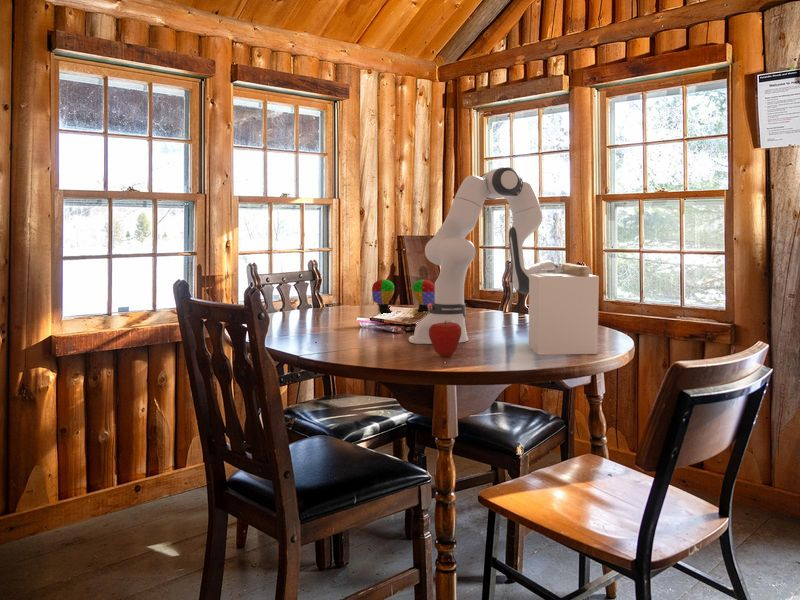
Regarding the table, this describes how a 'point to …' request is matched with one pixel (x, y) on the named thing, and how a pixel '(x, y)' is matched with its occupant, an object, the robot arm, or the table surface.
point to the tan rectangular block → (575, 269)
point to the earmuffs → (385, 291)
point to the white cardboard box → (563, 314)
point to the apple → (445, 337)
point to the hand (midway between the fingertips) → (569, 267)
